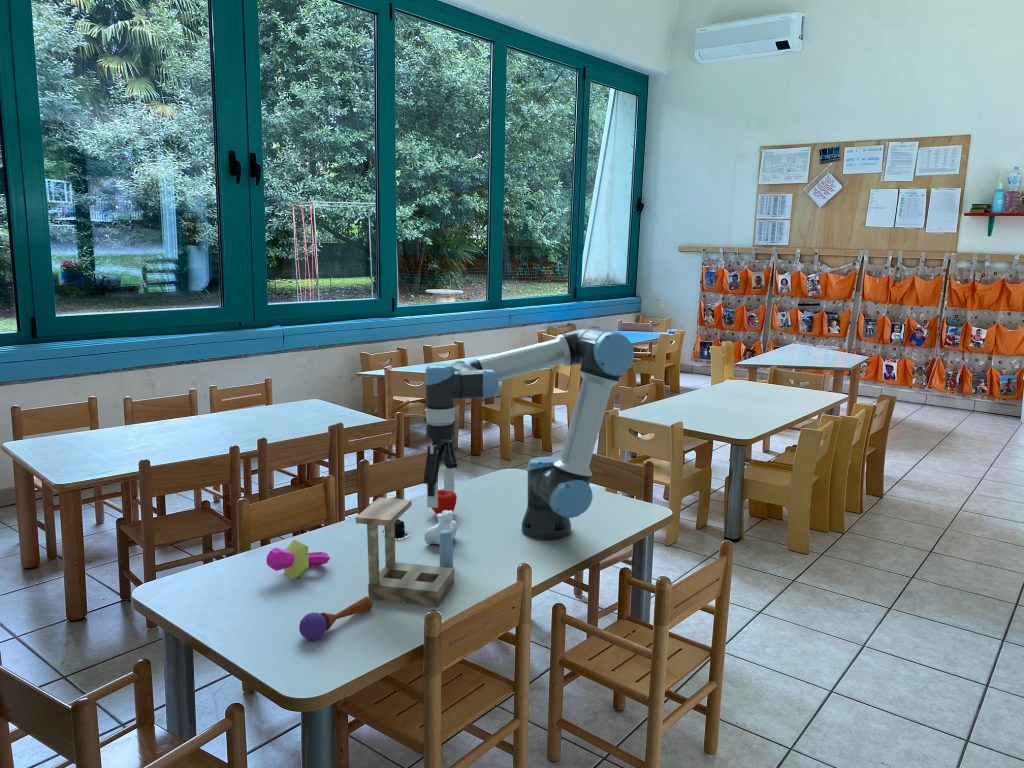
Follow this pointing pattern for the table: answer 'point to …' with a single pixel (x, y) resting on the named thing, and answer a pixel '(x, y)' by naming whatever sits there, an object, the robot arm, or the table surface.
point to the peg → (446, 548)
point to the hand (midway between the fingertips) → (441, 498)
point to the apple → (445, 501)
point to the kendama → (329, 619)
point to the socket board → (412, 584)
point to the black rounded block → (399, 529)
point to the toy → (295, 559)
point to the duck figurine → (441, 527)
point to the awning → (385, 515)
